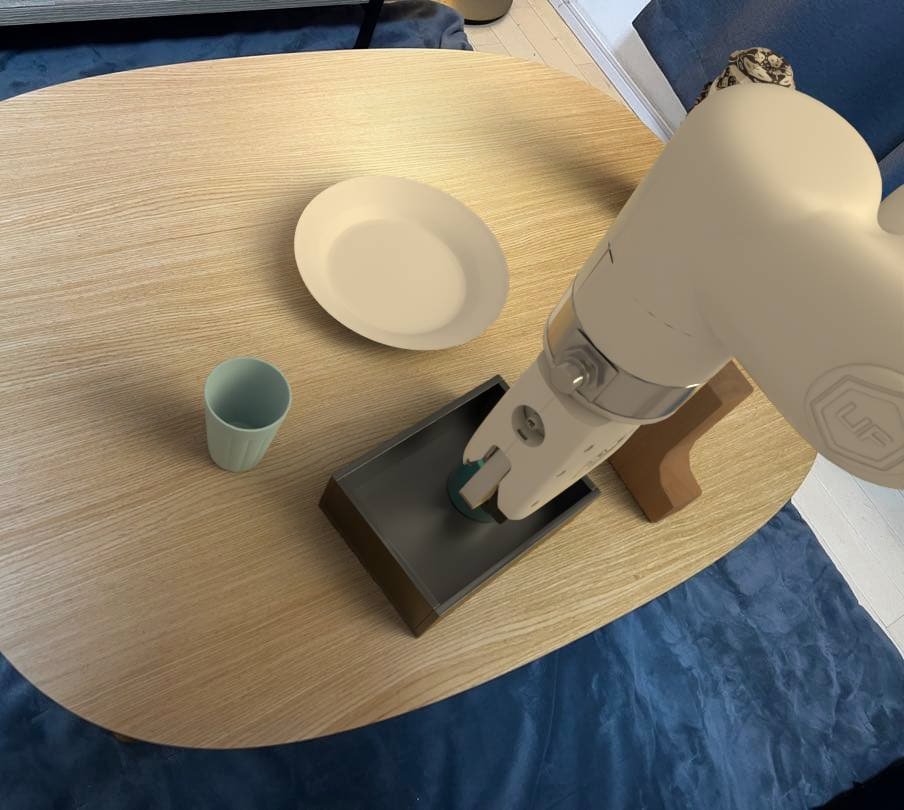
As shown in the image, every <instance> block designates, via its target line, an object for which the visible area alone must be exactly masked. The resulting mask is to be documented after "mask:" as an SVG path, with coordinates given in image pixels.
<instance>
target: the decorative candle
mask: <svg viewBox="0 0 904 810" xmlns="http://www.w3.org/2000/svg"><path fill="white" fill-rule="evenodd" d="M793 72H794V71H793V70H792V66H791V64H789V62H788V61H787V60H786V59H785V57H783V56H782V55H780V54H779V53H778V52H775V51H773V50H771V49H769V48H766V47H762V46H756V47H755V46H754V47H749V48H746V49H740V50H739V49H738V50H735V51H733V52H732V53H731V54H730V55H729V58H728V62H727V65H726V66H725V68H724V69H723V72H722V73H721V74H720V75H718V76H717V77H715V78H716V79H714V81H707V82H705V83H704V84H703V89H702V90H700V96H697V97H696V98H695V99H694V104H693V105H692V106H691V107H689V109H688V113H686V115H685V116H684V119H685V118H686V117H687V115H688V114H689V113H690V111H691V110H692V109H693V108H694V107H696V106H697V105H698V104H699V103H700V102H702V101H703V100H704V99H705V98H706V97H708V96H710V95H711V94H713V93H715V92H717V91H719V90H721V89H723V88H726V87H729V86H732V85H737V84H741V83H766V84H775V85H780V86H783V87H787V88H790V89H793V90H796V83H795V81H794V73H793ZM683 121H684V120H682V121H681V122H680V123H679V125H680V124H681V123H682V122H683Z"/></svg>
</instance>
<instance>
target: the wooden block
mask: <svg viewBox="0 0 904 810" xmlns="http://www.w3.org/2000/svg"><path fill="white" fill-rule="evenodd" d="M754 391H755V389H754V386H753V385H752V384H751V382H750V381H749V380H748V379H747V378H746V376H745V375H744V374H743V372H742V371H741V370H740V369H739V367H738V366H737V365H736V364H735V362H734V361H733V359H731V360H730V361H729V362H728V363H727V364H726V365H725V366H724V367H723V368H722V369H721V370H720V371H719V372H717V373H716V375H714V376H713V377H712V378H711V379H710V380H709V381H708V382H707V383H706V384H705V385H704V386H703V387H702V388H700V389H699V390H698V391H697V392H696V393H695V394H694V395H693V396H692V397H691V398H690V399H689V400H688V401H687V402H685V403H684V404H683V405H682V406H681V407H680V408H679V409H678V410H677V411H676V412H675V413H674V414H672V415H671V416H669V417H668V418H666V419H664V420H662V421H659V422H656V423H653V424H646V425H640V426H639V427H638V429H637V430H636V431H635V432H634V433H633V434H632V435H631V436H630V437H629V438H628V440H627V441H626V442H625V443H624V444H623V445H622V446H621V447H620V448H619V449H617V450H616V451H615V452H614V453H613V454H612V455H610V456H609V457H608V458H607V460H608V461H609V463H610V464H611V466H612V467H613V468H614V470H615V471H616V473H617V475H618V476H619V478H620V479H621V481H622V482H623V483H624V484H625V486H626V488H627V489H628V490H629V492H630V493H631V495H632V497H633V498H634V500H635V501H636V502H637V504H638V505H639V506H640V508H641V510H642V511H643V512H644V514H645V516H646V517H647V518H648V520H649V521H650V522H651V523H652V524H656V523H659V522H660V521H662V520H664V519H666V518H669V517H670V516H672V515H674V514H676V513H678V512H680V511H682V510H683V509H685V508H686V507H688V505H690V504H691V503H693V502H694V501H696V499H698V498H700V497H701V496H702V494H703V490H702V488H701V486H700V484H699V483H698V481H697V479H696V477H695V475H694V473H693V472H692V470H691V460H690V458H691V457H690V452H691V450H692V448H693V447H694V445H695V443H696V442H697V441H698V440H699V439H700V438H702V437H703V436H704V435H705V434H706V433H707V432H709V431H710V430H711V429H712V428H714V427H715V426H716V425H717V424H718V423H719V422H720V421H721V420H723V419H724V418H726V416H727V415H728V414H730V413H731V412H732V411H733V410H734V409H736V408H737V407H738V406H739V405H740V404H742V402H744V401H745V400H747V398H749V397H750V396H751V395H752V394H753V393H754Z"/></svg>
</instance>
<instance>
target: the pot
mask: <svg viewBox="0 0 904 810" xmlns="http://www.w3.org/2000/svg"><path fill="white" fill-rule="evenodd" d="M463 455H464V454H463ZM463 455H462V457H461V458H460V459H459V461H458V462H457V464H456V465H455V466H454V468H453V469H452V471H451V473H450V475H449V478H448V491H449V495H450V497H451V500H452V501H453V503H454V505H455V506H456V507H457V508H458V509H459V510H460V511H461V512H462V513H463V514H464V515H466V516H467V517H469V518H471V519H474V520H477V521H482V522H492V521H495V520H494V518H493V517H492V516H491V515H490V514H488V513H486V512H484V511H483V510H482V508H481V507H480V506H477V507H476V508H474V509H472V508H471V507H470V506H469V505H468V503H467V502H466V501H465V500H464V499H463V497H462V496H461V495H460V494H459V491H460V490H461V489H462V488H463V487H464V486H465V484H466V483H467V482H468V481H469V480H470V479H471V478H472V477H473V476H474V475H475V474H476V473H477V471H478V470H479V469H480V468H481V467H482V466H483V465H484V464H485V463H486V462H487V460H488V459H489V458H487V457H486V456H485V457H484V458H483V459H481V460H479V461H477V462H476V463H474V464H473V465H471V466H470V465H469V464H466V465H464V464H463Z"/></svg>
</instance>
